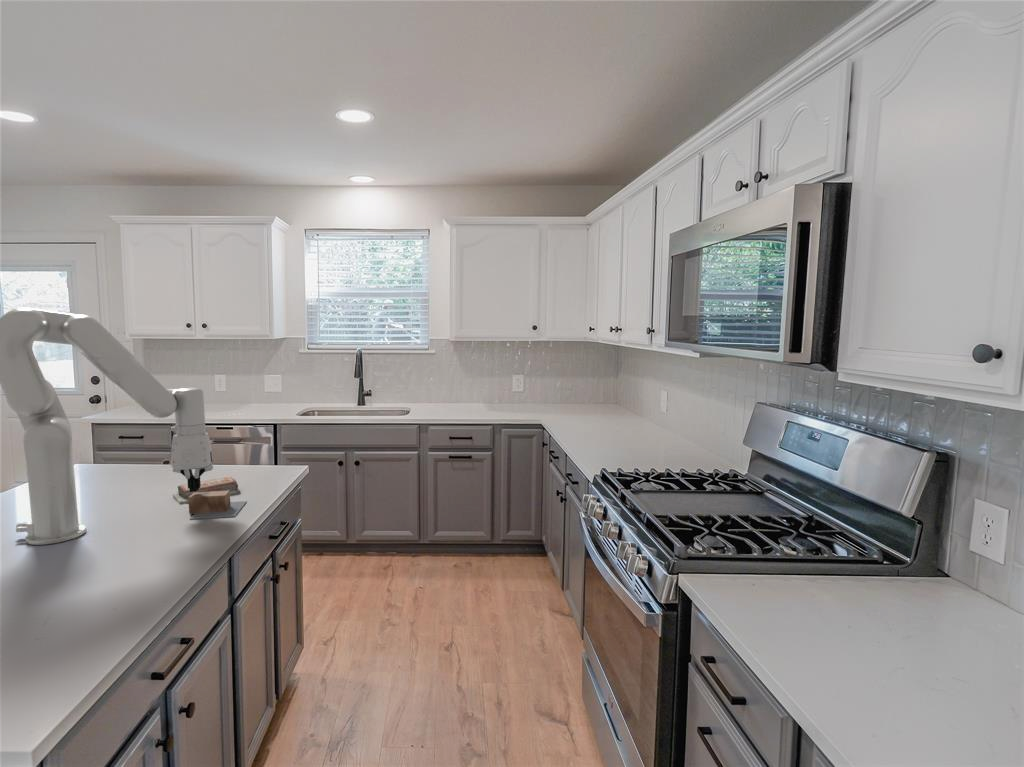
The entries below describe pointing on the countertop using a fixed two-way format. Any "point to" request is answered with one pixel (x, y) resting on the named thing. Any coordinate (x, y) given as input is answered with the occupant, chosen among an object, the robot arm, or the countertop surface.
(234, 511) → the rubber mat
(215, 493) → the walnut block
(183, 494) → the packaged product
